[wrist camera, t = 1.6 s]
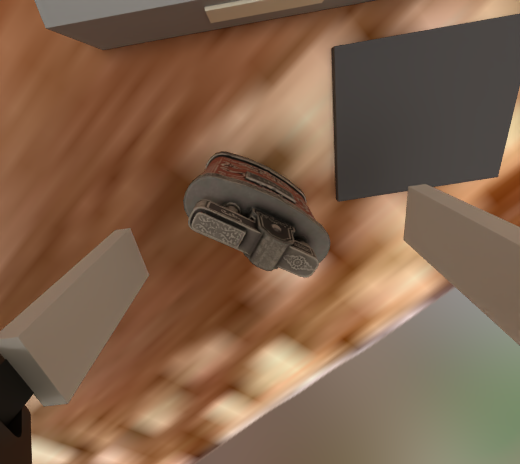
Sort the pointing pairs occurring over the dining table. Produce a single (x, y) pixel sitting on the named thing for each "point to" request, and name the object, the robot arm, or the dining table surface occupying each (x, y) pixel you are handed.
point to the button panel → (163, 17)
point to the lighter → (256, 214)
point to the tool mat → (424, 107)
